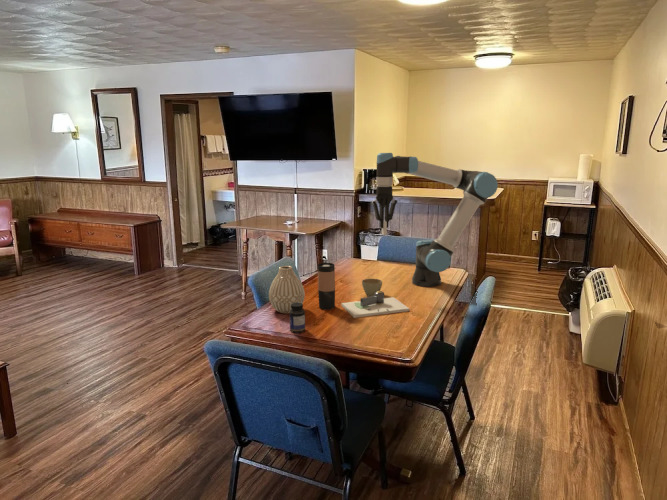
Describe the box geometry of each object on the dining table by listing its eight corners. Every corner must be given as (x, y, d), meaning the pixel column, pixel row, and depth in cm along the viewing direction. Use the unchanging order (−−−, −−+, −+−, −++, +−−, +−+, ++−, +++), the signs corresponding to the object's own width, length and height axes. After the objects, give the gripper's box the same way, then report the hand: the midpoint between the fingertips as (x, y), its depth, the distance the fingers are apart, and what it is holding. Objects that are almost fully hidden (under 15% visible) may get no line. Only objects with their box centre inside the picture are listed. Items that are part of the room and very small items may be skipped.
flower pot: (381, 298, 231) (381, 284, 230) (360, 297, 233) (360, 283, 232) (383, 292, 241) (383, 278, 239) (363, 291, 243) (363, 277, 241)
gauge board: (393, 299, 230) (393, 296, 229) (409, 311, 214) (409, 307, 213) (341, 305, 222) (341, 302, 222) (353, 317, 206) (353, 314, 206)
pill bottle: (290, 327, 196) (289, 302, 194) (305, 327, 197) (304, 301, 194) (290, 333, 190) (289, 307, 188) (305, 333, 190) (304, 306, 188)
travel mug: (337, 305, 222) (337, 263, 218) (332, 310, 215) (331, 267, 211) (322, 303, 225) (321, 262, 221) (316, 309, 218) (315, 266, 214)
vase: (277, 318, 206) (275, 273, 202) (264, 308, 220) (262, 265, 216) (310, 312, 214) (309, 268, 209) (296, 302, 227) (295, 261, 223)
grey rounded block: (379, 299, 223) (380, 289, 222) (386, 302, 220) (386, 291, 219) (358, 304, 217) (358, 294, 216) (364, 307, 213) (364, 296, 212)
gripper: (393, 184, 235) (393, 232, 240) (368, 185, 231) (368, 234, 236) (400, 185, 228) (399, 235, 233) (374, 187, 224) (374, 236, 229)
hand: (384, 234), depth 235 cm, fingers closed
